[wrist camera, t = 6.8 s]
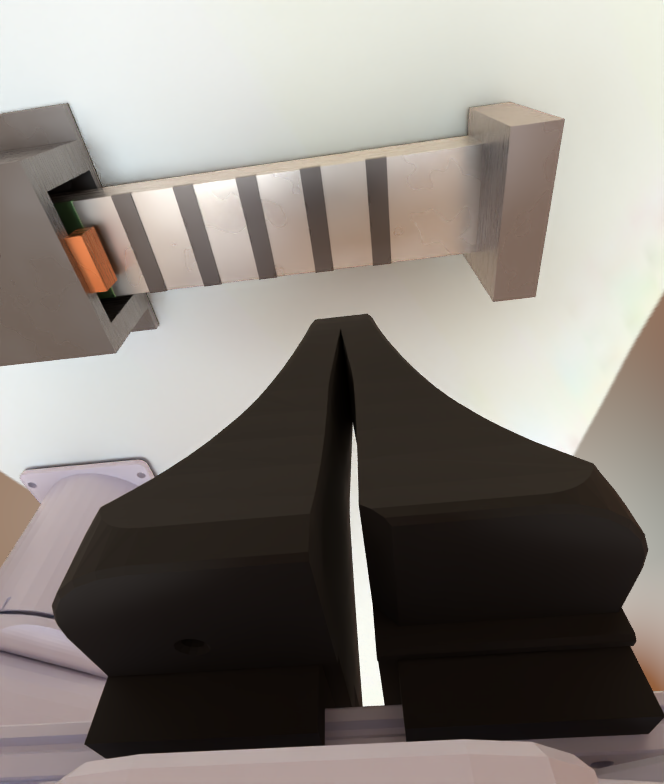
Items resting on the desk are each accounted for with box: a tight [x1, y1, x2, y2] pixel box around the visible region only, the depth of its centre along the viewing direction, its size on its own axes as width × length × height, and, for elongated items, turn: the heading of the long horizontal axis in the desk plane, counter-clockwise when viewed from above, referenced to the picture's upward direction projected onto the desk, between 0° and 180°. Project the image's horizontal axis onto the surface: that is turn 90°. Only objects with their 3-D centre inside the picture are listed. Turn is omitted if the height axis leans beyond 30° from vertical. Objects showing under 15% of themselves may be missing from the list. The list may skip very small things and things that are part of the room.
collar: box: [0, 103, 159, 366], centre depth 17 cm, size 9×9×4 cm
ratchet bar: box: [49, 102, 565, 302], centre depth 16 cm, size 5×19×5 cm, turn 97°
